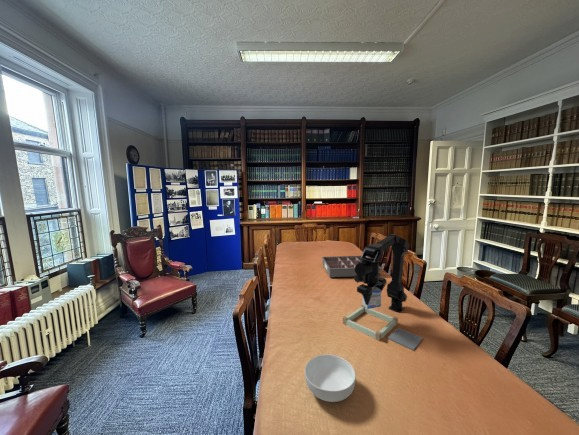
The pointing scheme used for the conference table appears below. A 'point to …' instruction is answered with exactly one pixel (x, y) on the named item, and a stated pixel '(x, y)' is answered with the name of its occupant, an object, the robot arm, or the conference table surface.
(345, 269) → the organizer tray
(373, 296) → the medicine box
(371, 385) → the conference table surface
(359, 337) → the conference table surface
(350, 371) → the cereal bowl
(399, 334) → the slate mat
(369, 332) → the pale green square frame
